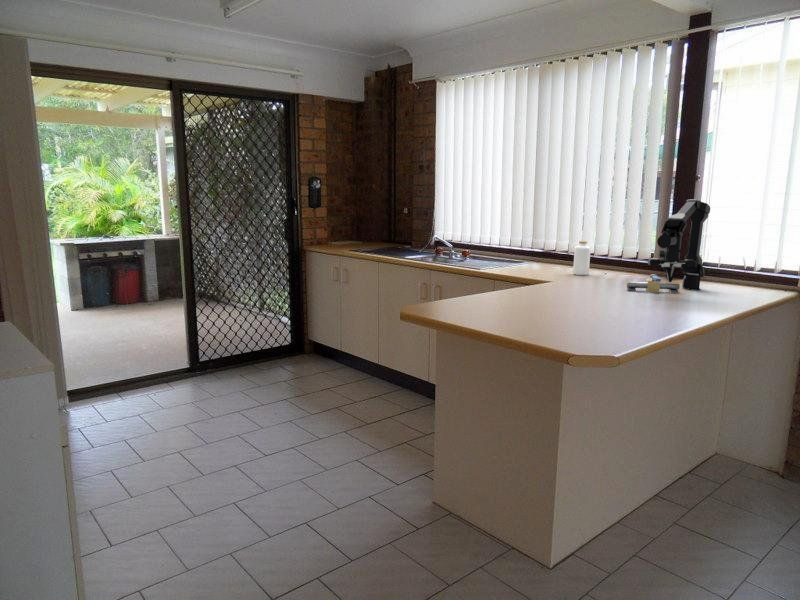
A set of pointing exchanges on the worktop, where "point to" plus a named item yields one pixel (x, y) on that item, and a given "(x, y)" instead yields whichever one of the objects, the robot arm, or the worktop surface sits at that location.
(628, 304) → the worktop surface
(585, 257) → the potion bottle
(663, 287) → the pipe run
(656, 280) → the valve lever
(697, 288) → the robot arm
